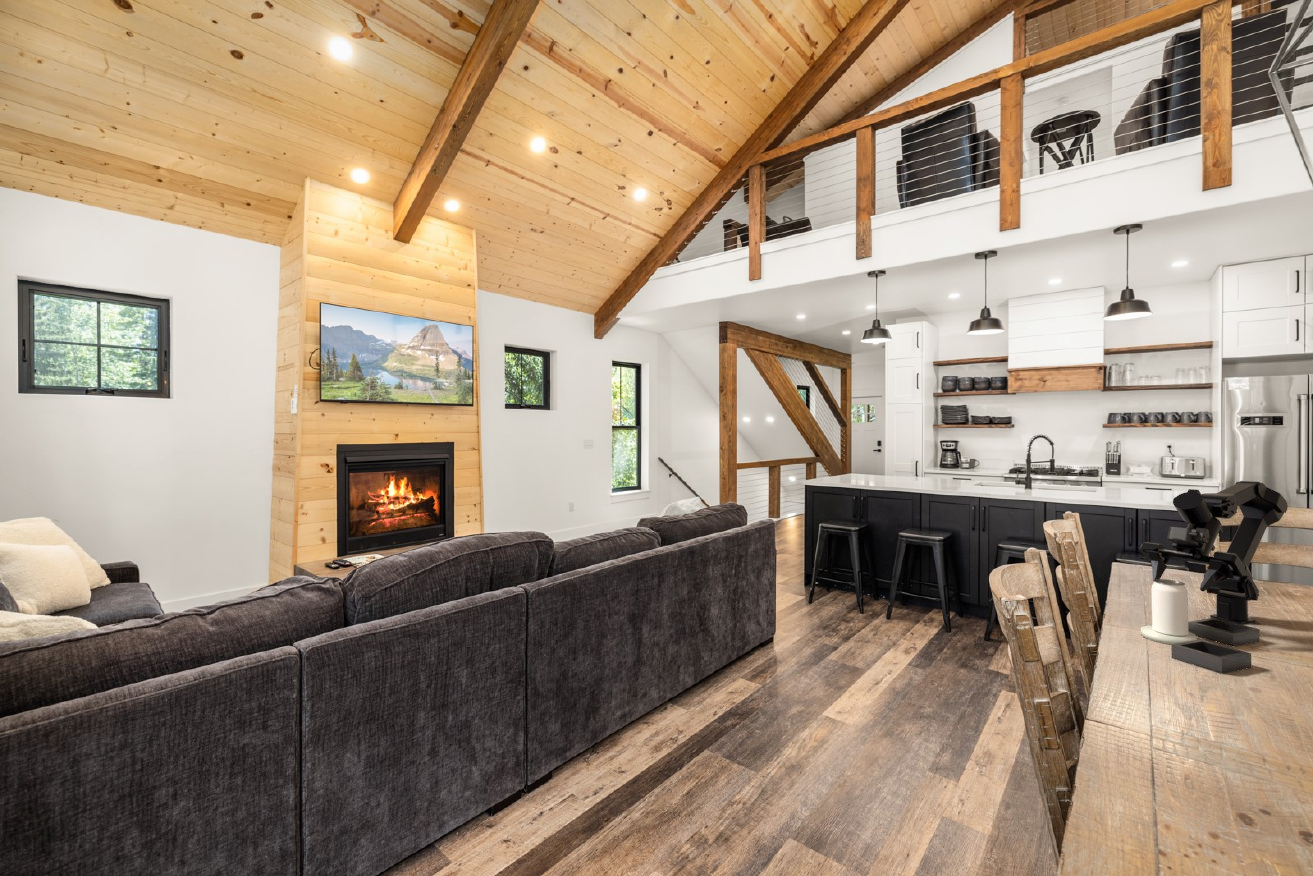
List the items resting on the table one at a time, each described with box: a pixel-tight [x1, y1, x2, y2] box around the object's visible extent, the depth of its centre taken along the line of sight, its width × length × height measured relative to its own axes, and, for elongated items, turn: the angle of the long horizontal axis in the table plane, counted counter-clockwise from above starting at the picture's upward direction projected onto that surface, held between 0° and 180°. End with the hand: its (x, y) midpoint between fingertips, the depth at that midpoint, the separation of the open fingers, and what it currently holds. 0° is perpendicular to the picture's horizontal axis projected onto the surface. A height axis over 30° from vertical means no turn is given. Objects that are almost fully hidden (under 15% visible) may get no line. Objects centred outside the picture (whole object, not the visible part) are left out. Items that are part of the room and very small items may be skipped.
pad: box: [1140, 624, 1198, 646], centre depth 138 cm, size 10×10×2 cm
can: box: [1151, 578, 1189, 637], centre depth 138 cm, size 6×6×12 cm
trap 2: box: [1188, 617, 1261, 647], centre depth 138 cm, size 9×9×3 cm
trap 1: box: [1170, 638, 1252, 674], centre depth 124 cm, size 9×9×3 cm
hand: (1177, 586), depth 140 cm, fingers open, 9 cm apart
